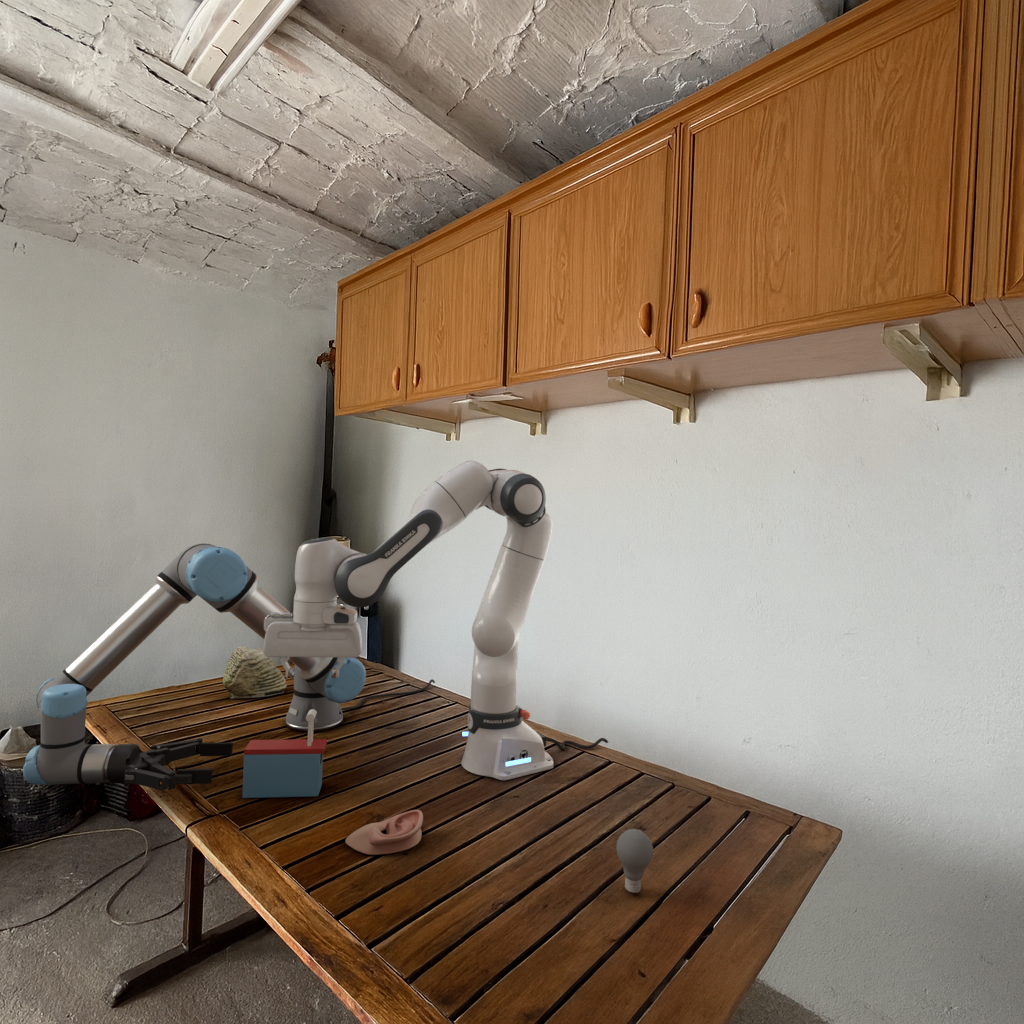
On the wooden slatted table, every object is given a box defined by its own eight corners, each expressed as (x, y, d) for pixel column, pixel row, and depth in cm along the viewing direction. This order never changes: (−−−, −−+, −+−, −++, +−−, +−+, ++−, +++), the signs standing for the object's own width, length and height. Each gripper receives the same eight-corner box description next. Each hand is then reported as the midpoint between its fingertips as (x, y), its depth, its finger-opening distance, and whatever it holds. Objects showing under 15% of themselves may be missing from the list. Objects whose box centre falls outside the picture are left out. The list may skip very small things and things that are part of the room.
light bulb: (610, 879, 108) (613, 822, 108) (644, 879, 109) (647, 822, 109) (619, 902, 102) (622, 840, 102) (655, 901, 103) (658, 840, 103)
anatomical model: (338, 827, 114) (365, 799, 125) (337, 849, 114) (364, 818, 125) (408, 839, 111) (429, 808, 122) (407, 861, 111) (428, 828, 122)
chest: (321, 784, 139) (323, 744, 139) (318, 796, 134) (319, 754, 134) (249, 786, 137) (250, 745, 137) (242, 798, 132) (243, 755, 132)
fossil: (218, 695, 195) (220, 647, 195) (278, 685, 208) (279, 640, 207) (228, 703, 189) (230, 653, 188) (289, 692, 201) (290, 645, 201)
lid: (327, 743, 139) (328, 707, 139) (323, 753, 134) (325, 715, 134) (250, 744, 137) (252, 707, 137) (243, 754, 132) (245, 716, 131)
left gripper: (139, 756, 143) (238, 755, 146) (80, 811, 118) (201, 808, 121) (140, 723, 142) (239, 723, 145) (82, 771, 118) (202, 769, 121)
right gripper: (260, 614, 131) (258, 681, 131) (361, 616, 134) (359, 681, 134) (267, 609, 137) (265, 673, 137) (364, 611, 140) (361, 673, 140)
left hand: (222, 761), depth 133 cm, fingers open, 13 cm apart
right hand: (312, 677), depth 136 cm, fingers open, 8 cm apart
